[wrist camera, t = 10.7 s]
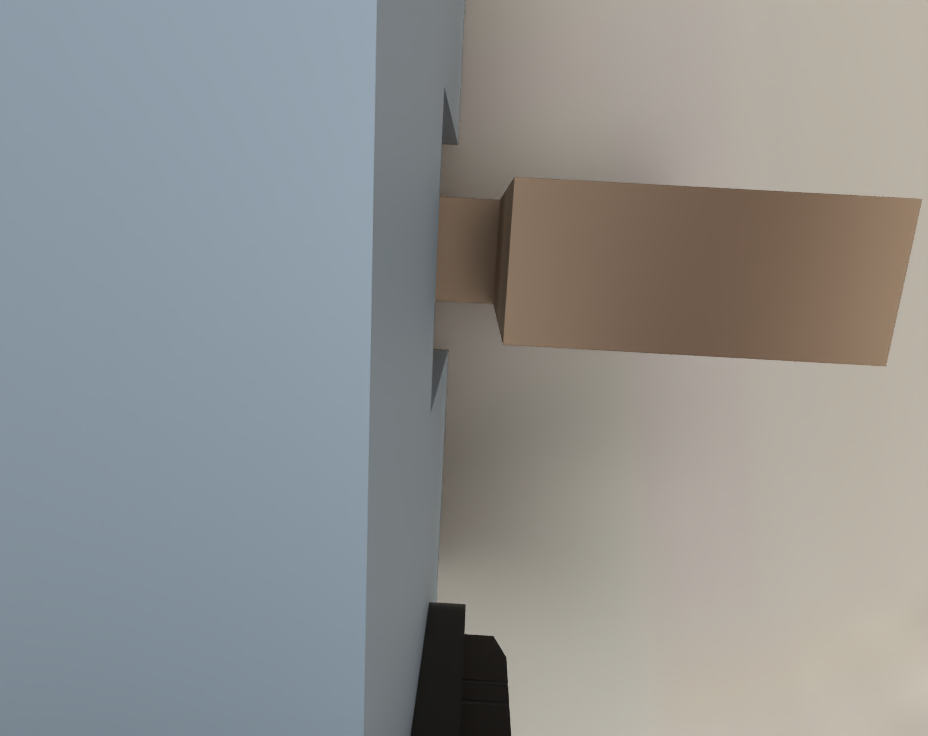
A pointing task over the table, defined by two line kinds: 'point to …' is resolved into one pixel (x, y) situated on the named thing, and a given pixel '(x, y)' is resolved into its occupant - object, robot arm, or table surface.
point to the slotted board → (682, 268)
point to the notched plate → (220, 362)
